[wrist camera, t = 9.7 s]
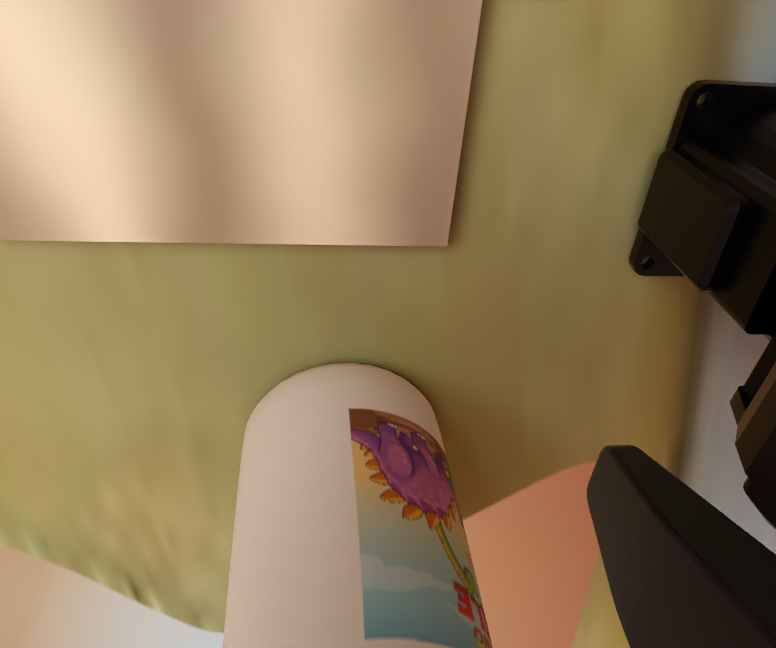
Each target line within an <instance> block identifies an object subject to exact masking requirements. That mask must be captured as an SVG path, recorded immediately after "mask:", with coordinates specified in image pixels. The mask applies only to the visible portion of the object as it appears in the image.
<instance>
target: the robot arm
mask: <svg viewBox="0 0 776 648" xmlns="http://www.w3.org/2000/svg"><path fill="white" fill-rule="evenodd" d="M705 92H706V93H707V95H706V99H705V100H704V102H703V103H701V104H700V105H696V104H697V99H698V98H699V96H700V95H702V94H703V93H705ZM638 225H639V230H638V233H637V236H636V239H635V242H634V245H633V248H632V251H631V254H630V258H629V263H630V266H631V267H632V269H633V270H634V271H635V272H636V273H637V274H639V275H643V276H685V277H686V278H687V279H688V280H689V281H690V282H691V283H692V284H693V285H694V286H695V287H696V288H697V289H698V290H699V291H701V292H708V293H709V294H710V295H711V296H712V298H713V299H714V300H715V301H716V302H717V303H718V304H719V305H720V306H721V307H722V308H723V309H724V310H725V311H726V312H727V313H728V314H729V315H730V316H731V317H732V318H733V319H734V320H735V321H736V322H737V323H738V324H739V325H740V327H741V328H742V329H743V330H744V331H745V332H746V333H748V334H764V335H765V336H766V337H767V338H768V339H769V340H770V342H769V344H768V346H767V347H766V349H765V351H764V352H763V354H762V356H761V357H760V359H759V361H758V363H757V364H756V366H755V368H754V369H753V371H752V373H751V374H750V376H749V378H748V379H747V381H746V383H745V384H744V386H739V387H738V389H737V390H736V392H735V394H734V395H733V397H732V399H731V400H730V404H731V407H732V410H733V413H734V416H735V419H736V423H737V426H738V428H737V435H736V442H735V445H736V448H737V451H738V454H739V457H740V460H741V462H742V465H743V468H744V471H745V473H746V475H747V476H748V478H747V479H746V481H745V482H744V485H743V488H744V491H745V493H746V494H747V496H748V497H749V499H750V500H751V502H752V503H753V504H754V505H755V507H756V508H757V509H758V511H759V512H760V513H761V514H762V516H763V517H764V518H765V519H766V521H767V522H768V523H769V524H770V525H771V526H772V527H773V528H774V529H775V530H776V84H774V83H755V82H736V81H717V80H700V81H696V82H695V83H693V84H691V85H690V86H689V87H688V88H687V89H686V91H685V93H684V95H683V97H682V100H681V103H680V106H679V109H678V112H677V115H676V118H675V121H674V124H673V127H672V130H671V133H670V136H669V139H668V142H667V146H666V149H665V150H664V152H663V153H662V154H661V155H660V157H659V160H658V163H657V166H656V169H655V172H654V175H653V178H652V181H651V184H650V188H649V191H648V194H647V197H646V200H645V203H644V206H643V209H642V212H641V215H640V218H639V221H638ZM646 257H650V258H649V260H648V261H647V262H645V263H643V264H641V262H642V261H643V260H644V259H645V258H646ZM587 499H588V505H589V509H590V513H591V517H592V520H593V524H594V528H595V532H596V536H597V540H598V544H599V547H600V551H601V555H602V559H603V563H604V566H605V570H606V574H607V578H608V582H609V585H610V589H611V593H612V596H613V600H614V603H615V607H616V610H617V613H618V616H619V618H620V621H621V624H622V627H623V630H624V632H625V635H626V638H627V640H628V643H629V646H630V648H776V555H775V554H774V553H773V552H772V551H770V550H769V549H768V548H766V547H765V546H764V545H763V544H761V543H760V542H759V541H757V540H756V539H755V538H754V537H752V536H751V535H750V534H748V533H747V532H746V531H745V530H743V529H742V528H741V527H739V526H738V525H737V524H736V523H734V522H733V521H732V520H730V519H729V518H728V517H727V516H725V515H724V514H723V513H721V512H720V511H719V510H718V509H716V508H715V507H714V506H712V505H711V504H710V503H709V502H707V501H706V500H705V499H703V498H702V497H701V496H700V495H698V494H697V493H696V492H694V491H693V490H692V489H691V488H689V487H688V486H687V485H685V484H684V483H683V482H682V481H680V480H679V479H678V478H676V477H675V476H674V475H672V474H671V473H670V472H669V471H667V470H666V469H665V468H663V467H662V466H661V465H660V464H658V463H657V462H656V461H654V460H653V459H652V458H651V457H649V456H648V455H647V454H645V453H644V452H643V451H642V450H640V449H639V448H637V447H635V446H632V445H615V446H606V447H604V448H603V449H602V450H601V452H600V454H599V457H598V460H597V462H596V465H595V468H594V470H593V473H592V476H591V478H590V481H589V484H588V488H587Z"/></svg>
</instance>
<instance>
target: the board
mask: <svg viewBox="0 0 776 648" xmlns="http://www.w3.org/2000/svg"><path fill="white" fill-rule="evenodd" d="M481 7H482V0H0V240H21V241H92V242H163V243H234V244H305V245H376V246H447V244H448V237H449V230H450V223H451V216H452V209H453V202H454V195H455V189H456V182H457V175H458V168H459V161H460V154H461V147H462V140H463V133H464V126H465V119H466V112H467V105H468V98H469V91H470V84H471V77H472V70H473V63H474V56H475V49H476V42H477V35H478V28H479V21H480V14H481Z"/></svg>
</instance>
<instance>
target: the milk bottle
mask: <svg viewBox="0 0 776 648" xmlns="http://www.w3.org/2000/svg"><path fill="white" fill-rule="evenodd" d="M223 648H492V644H491V639H490V635H489V631H488V627H487V622H486V618H485V614H484V610H483V605H482V601H481V597H480V593H479V589H478V584H477V580H476V576H475V571H474V567H473V563H472V559H471V555H470V550H469V546H468V543H467V538H466V534H465V530H464V526H463V522H462V518H461V514H460V510H459V506H458V502H457V498H456V494H455V490H454V485H453V481H452V477H451V473H450V469H449V465H448V461H447V457H446V453H445V449H444V446H443V442H442V438H441V434H440V430H439V427H438V424H437V420H436V417H435V414H434V411H433V409H432V407H431V405H430V404H429V402H428V401H427V399H426V398H425V397H424V396H423V395H422V393H421V392H420V391H419V390H417V389H416V388H415V387H414V386H413V385H411V384H410V383H409V382H408V381H406V380H405V379H404V378H403V377H400V376H398V375H396V374H394V373H392V372H391V371H389V370H386V369H382V368H378V367H375V366H372V365H365V364H357V363H332V364H327V365H322V366H316V367H312V368H310V369H307V370H304V371H301V372H298V373H296V374H294V375H292V376H290V377H289V378H287V379H285V380H283V381H281V382H280V383H279V384H277V385H276V386H275V387H274V388H273V389H271V390H270V391H269V392H268V393H267V394H266V395H265V396H264V398H263V399H262V400H261V401H260V402H259V403H258V405H257V406H256V407H255V409H254V410H253V412H252V414H251V415H250V417H249V420H248V422H247V425H246V429H245V434H244V441H243V447H242V456H241V465H240V475H239V484H238V494H237V504H236V514H235V524H234V534H233V544H232V554H231V564H230V574H229V584H228V595H227V606H226V617H225V628H224V639H223Z"/></svg>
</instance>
